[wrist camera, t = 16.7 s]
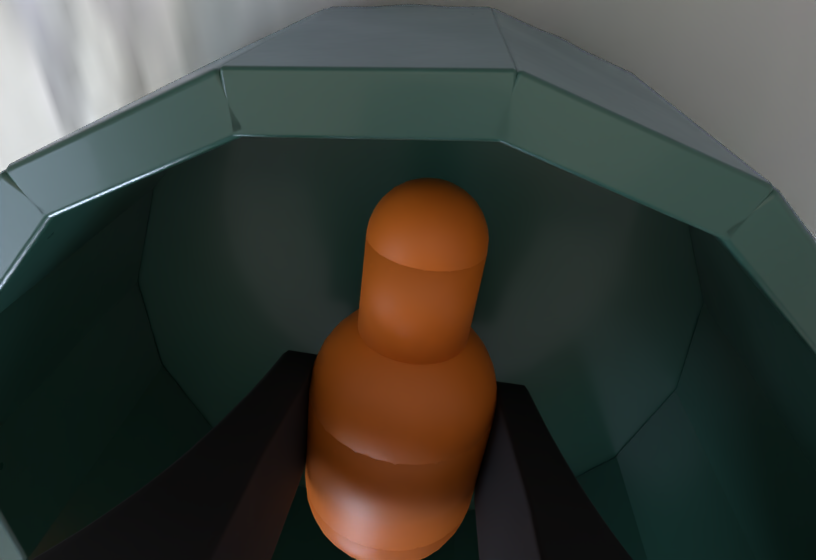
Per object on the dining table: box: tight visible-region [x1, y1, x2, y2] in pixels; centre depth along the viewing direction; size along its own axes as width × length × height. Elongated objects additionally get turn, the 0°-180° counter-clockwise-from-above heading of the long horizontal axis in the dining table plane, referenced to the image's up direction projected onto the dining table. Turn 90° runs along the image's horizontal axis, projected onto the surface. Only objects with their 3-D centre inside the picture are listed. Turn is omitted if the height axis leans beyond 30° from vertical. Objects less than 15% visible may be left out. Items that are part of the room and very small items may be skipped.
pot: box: [0, 4, 816, 560], centre depth 12 cm, size 14×14×6 cm
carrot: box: [305, 178, 497, 560], centre depth 11 cm, size 10×4×4 cm
